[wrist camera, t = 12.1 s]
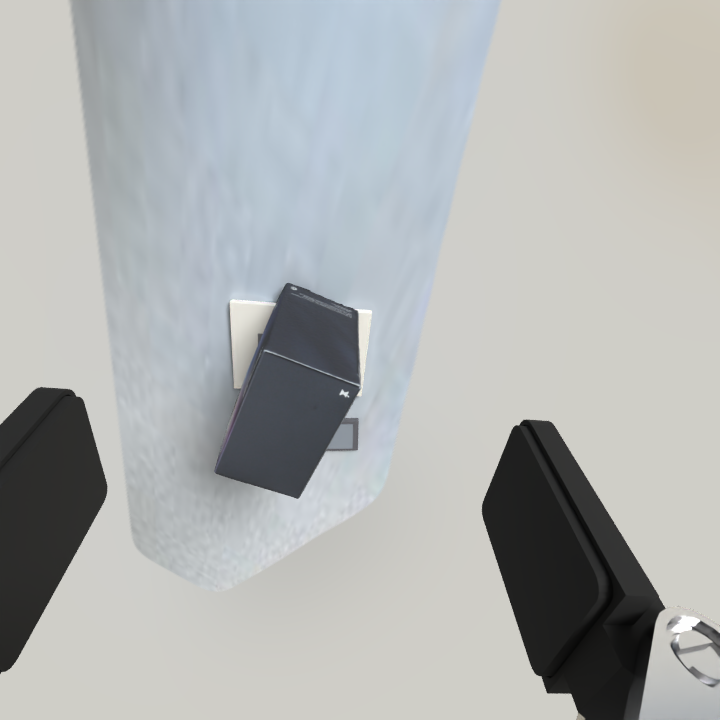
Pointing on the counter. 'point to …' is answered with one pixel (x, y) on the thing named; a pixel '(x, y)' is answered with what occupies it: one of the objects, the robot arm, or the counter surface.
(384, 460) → the counter surface
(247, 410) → the small box
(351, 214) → the counter surface
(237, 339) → the outlet plate
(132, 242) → the counter surface
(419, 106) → the counter surface
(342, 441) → the phone
